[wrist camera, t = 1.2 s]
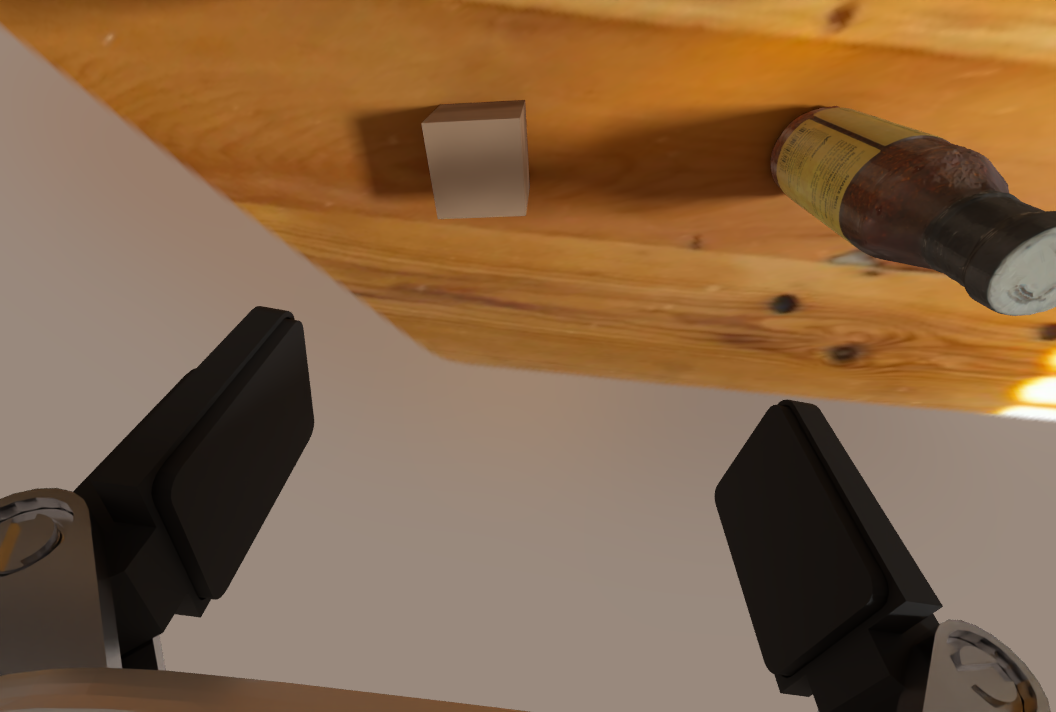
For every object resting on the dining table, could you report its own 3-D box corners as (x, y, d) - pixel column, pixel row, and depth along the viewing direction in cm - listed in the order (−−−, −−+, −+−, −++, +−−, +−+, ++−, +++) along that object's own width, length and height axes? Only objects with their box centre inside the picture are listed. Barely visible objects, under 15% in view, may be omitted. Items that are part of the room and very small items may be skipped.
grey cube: (440, 104, 34) (421, 123, 29) (525, 99, 34) (519, 118, 29) (452, 189, 38) (437, 219, 33) (529, 186, 37) (525, 215, 33)
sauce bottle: (780, 209, 37) (946, 370, 22) (754, 135, 34) (924, 260, 18) (873, 161, 35) (1136, 303, 19) (854, 78, 32) (1147, 164, 16)
